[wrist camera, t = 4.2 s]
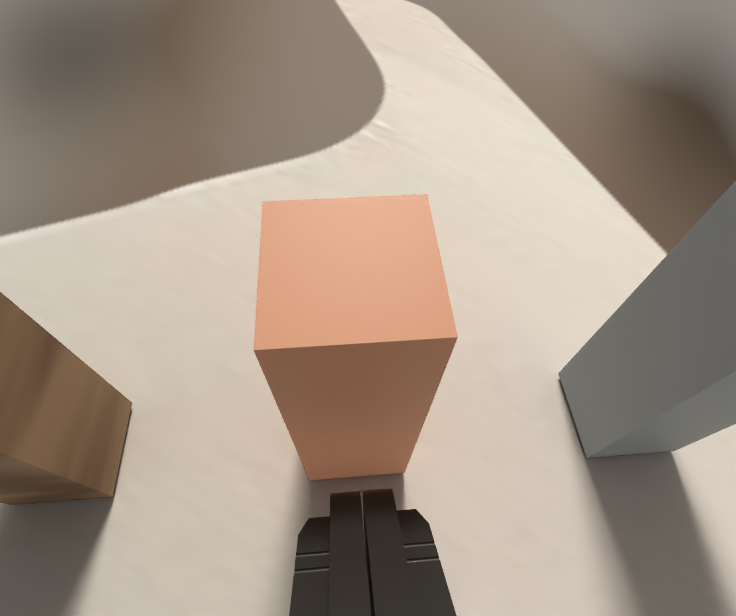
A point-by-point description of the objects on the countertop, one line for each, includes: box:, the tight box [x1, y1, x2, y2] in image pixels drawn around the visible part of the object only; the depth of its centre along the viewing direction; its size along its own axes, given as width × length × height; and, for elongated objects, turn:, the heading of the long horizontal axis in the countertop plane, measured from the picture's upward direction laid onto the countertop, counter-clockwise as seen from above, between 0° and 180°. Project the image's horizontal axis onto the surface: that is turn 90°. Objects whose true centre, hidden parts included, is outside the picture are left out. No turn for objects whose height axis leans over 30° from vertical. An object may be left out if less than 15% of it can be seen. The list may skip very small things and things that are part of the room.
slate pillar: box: [558, 181, 736, 458], centre depth 16 cm, size 4×4×12 cm
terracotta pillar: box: [254, 194, 458, 480], centre depth 15 cm, size 4×4×12 cm
